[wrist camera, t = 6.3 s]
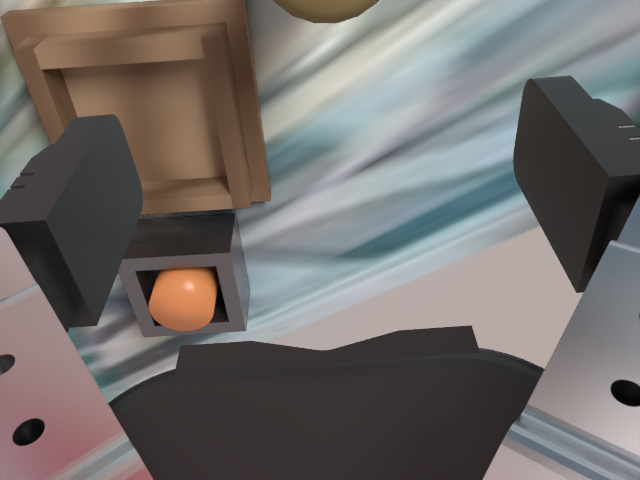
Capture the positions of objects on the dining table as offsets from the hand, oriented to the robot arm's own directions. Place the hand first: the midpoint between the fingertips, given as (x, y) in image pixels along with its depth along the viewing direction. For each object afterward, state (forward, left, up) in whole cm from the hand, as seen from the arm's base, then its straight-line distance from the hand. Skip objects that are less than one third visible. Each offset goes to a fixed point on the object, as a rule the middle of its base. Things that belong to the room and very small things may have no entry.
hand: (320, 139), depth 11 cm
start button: (+9, +19, -18) cm, 28 cm away
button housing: (+9, +19, -20) cm, 29 cm away
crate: (+9, +8, -20) cm, 23 cm away
